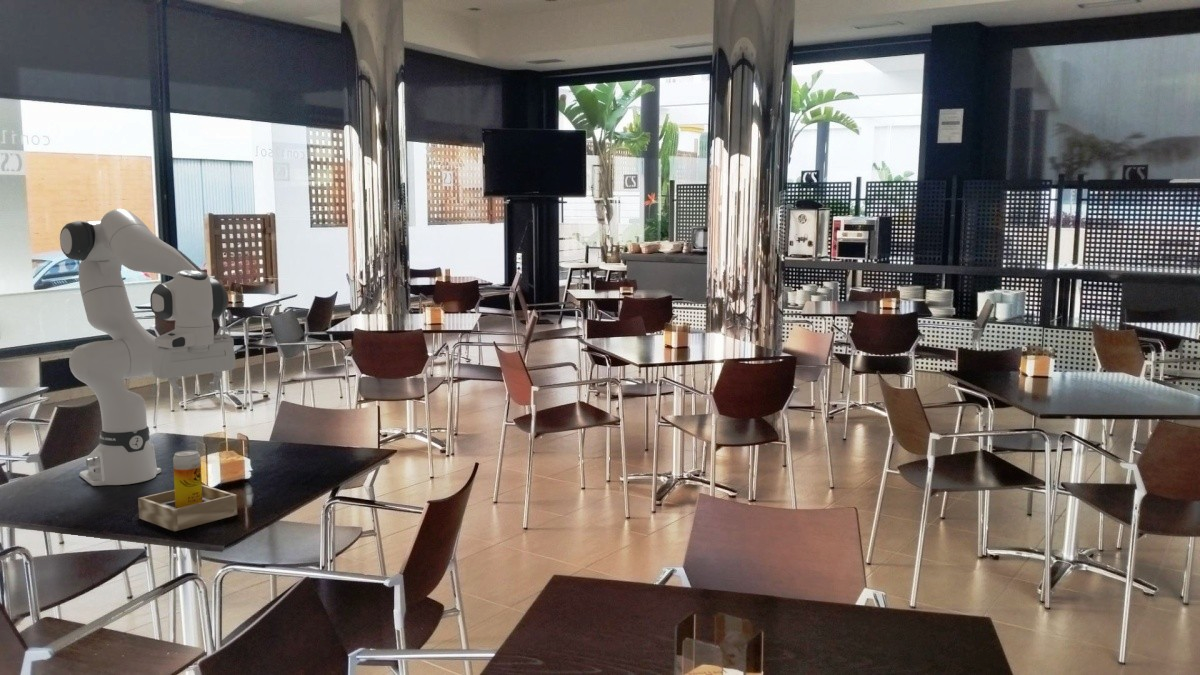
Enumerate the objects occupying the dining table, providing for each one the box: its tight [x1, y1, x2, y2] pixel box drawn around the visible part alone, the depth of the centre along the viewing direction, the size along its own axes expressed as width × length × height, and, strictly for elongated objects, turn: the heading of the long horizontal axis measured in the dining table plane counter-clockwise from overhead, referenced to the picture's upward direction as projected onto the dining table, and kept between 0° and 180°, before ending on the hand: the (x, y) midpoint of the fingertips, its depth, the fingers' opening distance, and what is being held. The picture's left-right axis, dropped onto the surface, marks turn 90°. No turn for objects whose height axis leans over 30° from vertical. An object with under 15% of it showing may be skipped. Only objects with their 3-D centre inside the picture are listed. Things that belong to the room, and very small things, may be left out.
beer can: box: [172, 449, 203, 508], centre depth 228 cm, size 6×6×15 cm
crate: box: [137, 483, 238, 532], centre depth 229 cm, size 16×16×5 cm
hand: (196, 392), depth 235 cm, fingers open, 8 cm apart
